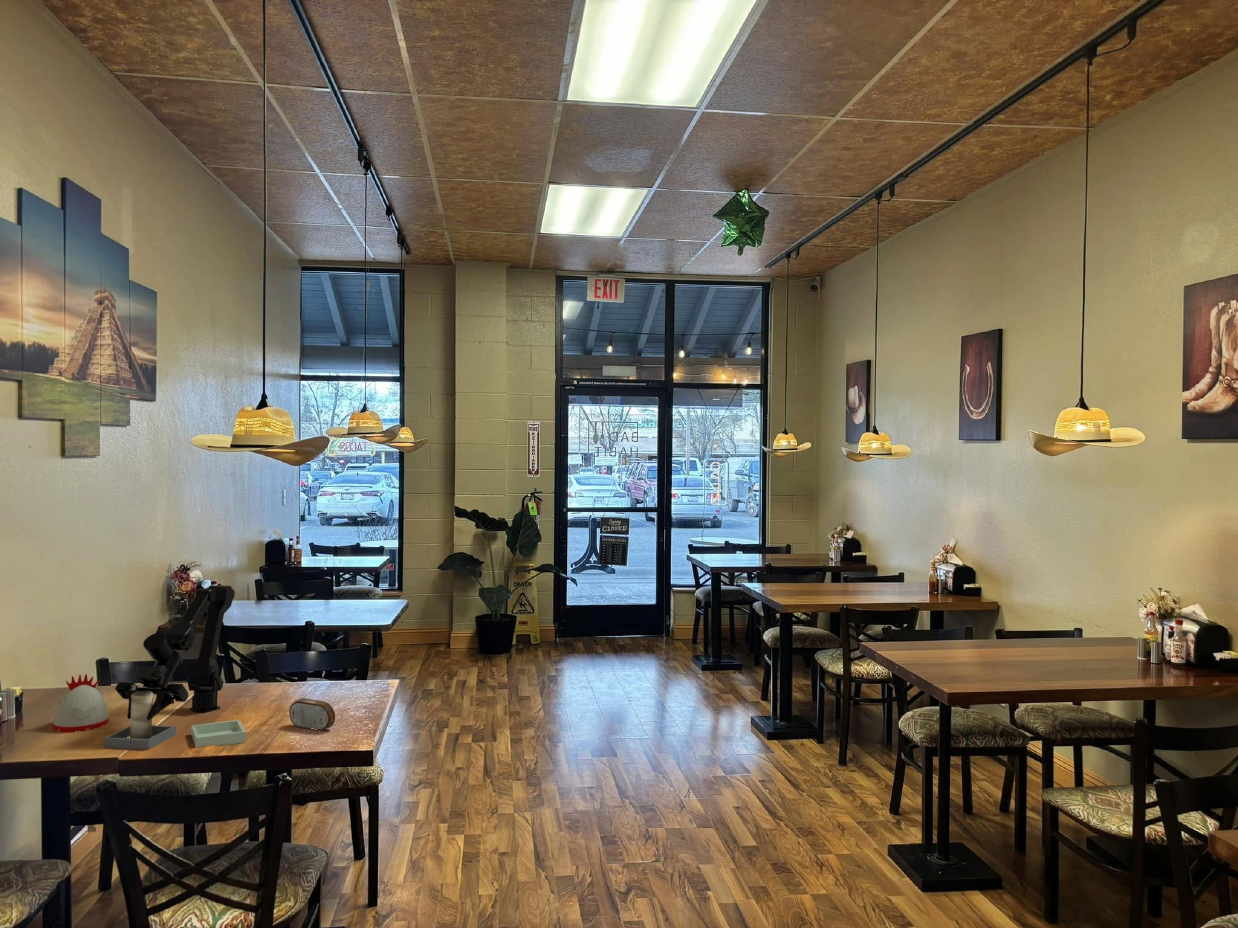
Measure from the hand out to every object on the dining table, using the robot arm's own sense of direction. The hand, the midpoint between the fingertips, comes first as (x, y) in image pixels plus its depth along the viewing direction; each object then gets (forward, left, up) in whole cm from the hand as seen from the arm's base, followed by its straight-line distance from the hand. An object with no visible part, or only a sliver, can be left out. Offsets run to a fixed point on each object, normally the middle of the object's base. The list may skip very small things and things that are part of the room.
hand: (138, 718), depth 230 cm
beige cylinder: (-1, -1, -7) cm, 7 cm away
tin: (-37, +26, -7) cm, 46 cm away
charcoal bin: (-1, -1, -7) cm, 7 cm away
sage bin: (-15, +13, -7) cm, 21 cm away
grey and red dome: (-1, -30, -7) cm, 31 cm away
